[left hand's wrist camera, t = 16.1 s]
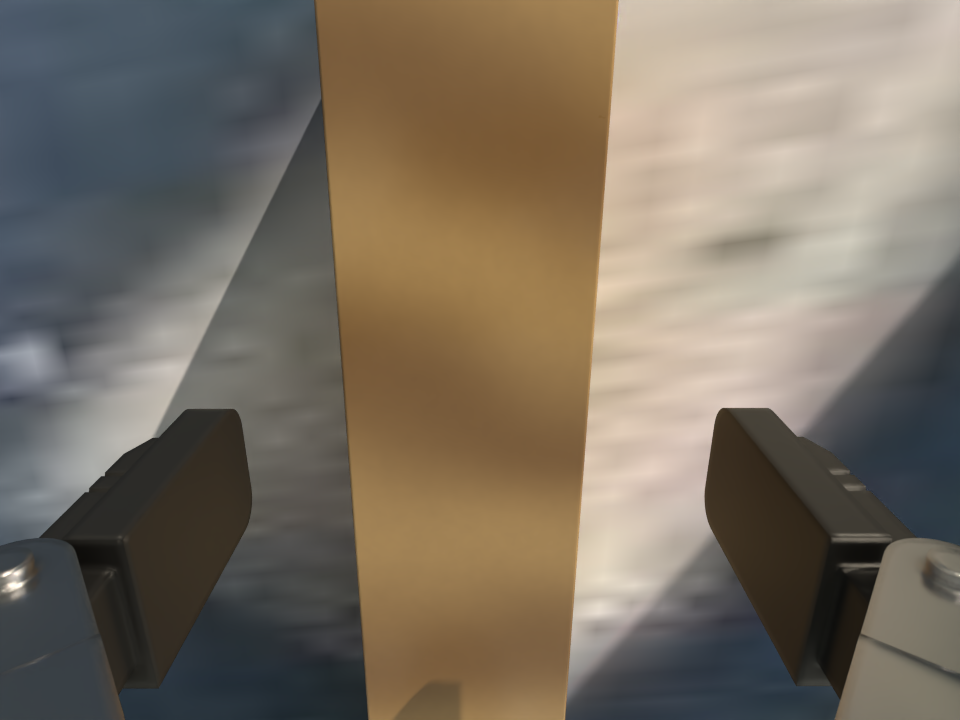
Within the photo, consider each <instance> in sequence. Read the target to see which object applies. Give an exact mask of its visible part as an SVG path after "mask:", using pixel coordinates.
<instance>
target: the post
mask: <svg viewBox="0 0 960 720" xmlns="http://www.w3.org/2000/svg"><path fill="white" fill-rule="evenodd" d="M618 3H619V0H314V6H315V19H316V32H317V46H318V59H319V72H320V85H321V99H322V112H323V125H324V139H325V152H326V165H327V179H328V192H329V205H330V219H331V232H332V245H333V258H334V272H335V285H336V298H337V312H338V325H339V338H340V352H341V365H342V378H343V391H344V405H345V418H346V431H347V445H348V458H349V471H350V485H351V498H352V511H353V524H354V538H355V551H356V564H357V578H358V591H359V604H360V618H361V631H362V644H363V657H364V671H365V684H366V697H367V711H368V720H565V711H566V698H567V685H568V671H569V658H570V645H571V631H572V618H573V604H574V591H575V578H576V564H577V551H578V538H579V524H580V511H581V497H582V484H583V471H584V457H585V444H586V431H587V417H588V404H589V390H590V377H591V364H592V350H593V337H594V324H595V310H596V297H597V284H598V270H599V257H600V243H601V230H602V217H603V203H604V190H605V177H606V163H607V150H608V136H609V123H610V110H611V96H612V83H613V70H614V56H615V43H616V29H617V16H618Z"/></svg>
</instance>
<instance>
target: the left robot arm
mask: <svg viewBox="0 0 960 720" xmlns="http://www.w3.org/2000/svg"><path fill="white" fill-rule="evenodd" d="M251 507H252V491H251V483H250V477H249V470H248V463H247V456H246V450H245V443H244V436H243V430H242V424H241V419H240V417H239V414H238V413H237V411H236V410H234V409H187V410H185V411H184V412H183V413H182V414H181V415H180V416H179V417H178V418H177V419H176V420H175V421H174V422H173V423H172V424H171V425H170V427H169V428H168V429H167V430H166V431H165V432H164V433H163V434H162V435H161V436H160V437H159V438H152V439H150V440H148V441H146V442H145V443H143V444H141V445H139V446H137V447H136V448H134V449H132V450H130V451H128V452H127V453H125V454H123V455H122V456H121V457H120V458H119V459H118V460H117V461H116V462H115V463H114V464H113V465H112V466H111V467H110V468H109V469H108V470H107V471H106V472H105V476H101V477H100V478H99V479H98V480H97V481H96V482H95V483H94V484H93V485H92V486H91V487H90V488H89V492H85V493H84V494H83V495H82V496H81V497H80V498H79V499H78V500H77V501H76V502H75V503H74V504H73V505H72V506H71V507H70V508H69V509H68V510H67V511H66V512H65V513H64V514H63V515H62V516H61V517H60V518H59V519H58V520H57V521H56V522H55V523H54V524H53V525H52V526H51V527H50V528H49V529H48V530H47V531H45V532H44V533H43V534H42V535H41V536H40V537H39V538H34V539H26V540H21V541H16V542H12V543H8V544H5V545H2V546H0V720H125V717H124V714H123V710H122V707H121V703H120V700H119V696H118V695H119V693H120V692H121V690H122V688H159V687H160V685H161V683H162V681H163V679H164V677H165V676H166V674H167V672H168V670H169V668H170V667H171V665H172V663H173V661H174V659H175V657H176V656H177V654H178V652H179V650H180V648H181V646H182V645H183V643H184V641H185V639H186V637H187V636H188V634H189V632H190V630H191V628H192V626H193V625H194V623H195V621H196V619H197V617H198V615H199V614H200V612H201V610H202V608H203V606H204V605H205V603H206V601H207V599H208V597H209V595H210V594H211V592H212V590H213V588H214V586H215V584H216V583H217V581H218V579H219V577H220V575H221V574H222V572H223V570H224V568H225V566H226V564H227V563H228V561H229V559H230V557H231V555H232V553H233V552H234V550H235V548H236V546H237V544H238V543H239V541H240V539H241V537H242V535H243V533H244V532H245V530H246V528H247V525H248V522H249V519H250V514H251ZM705 509H706V515H707V519H708V522H709V525H710V527H711V529H712V531H713V533H714V535H715V537H716V539H717V541H718V542H719V544H720V546H721V548H722V550H723V552H724V553H725V555H726V557H727V559H728V561H729V563H730V565H731V566H732V568H733V570H734V572H735V574H736V576H737V577H738V579H739V581H740V583H741V585H742V587H743V589H744V590H745V592H746V594H747V596H748V598H749V600H750V601H751V603H752V605H753V607H754V609H755V611H756V613H757V614H758V616H759V618H760V620H761V622H762V624H763V625H764V627H765V629H766V631H767V633H768V635H769V637H770V638H771V640H772V642H773V644H774V646H775V648H776V649H777V651H778V653H779V655H780V657H781V659H782V661H783V662H784V664H785V666H786V668H787V670H788V672H789V673H790V675H791V677H792V679H793V681H794V683H795V685H796V686H832V687H833V689H834V690H835V692H836V694H837V695H838V697H839V699H840V703H839V707H838V710H837V714H836V717H835V720H960V546H958V545H955V544H952V543H948V542H944V541H939V540H934V539H926V538H917V537H916V536H915V535H914V534H913V533H912V532H911V531H910V530H909V529H908V528H907V527H906V526H905V525H904V524H903V523H902V522H901V521H900V520H899V519H898V518H897V517H896V516H895V515H894V514H893V513H892V512H891V511H890V510H889V509H888V508H887V507H886V506H885V505H884V504H883V503H882V502H881V501H880V500H879V499H878V498H877V497H876V496H875V495H874V494H872V493H871V492H870V491H866V487H865V486H864V485H863V484H862V483H861V482H860V481H859V480H858V479H857V478H856V477H855V476H854V475H850V471H849V470H848V469H847V468H846V467H845V466H844V465H843V464H842V463H841V462H840V461H839V460H838V459H837V458H836V457H835V456H834V455H833V454H832V453H831V452H829V451H828V450H826V449H824V448H822V447H820V446H819V445H817V444H815V443H813V442H811V441H810V440H808V439H806V438H804V437H797V436H796V435H795V434H794V433H793V432H792V431H791V430H790V429H789V428H788V427H787V426H786V425H785V424H784V423H783V421H782V420H781V419H780V418H779V417H778V416H777V415H776V414H775V413H774V412H773V411H772V410H771V409H769V408H722V409H721V410H720V411H719V412H718V414H717V416H716V420H715V425H714V431H713V438H712V445H711V452H710V459H709V465H708V472H707V479H706V486H705Z"/></svg>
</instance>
